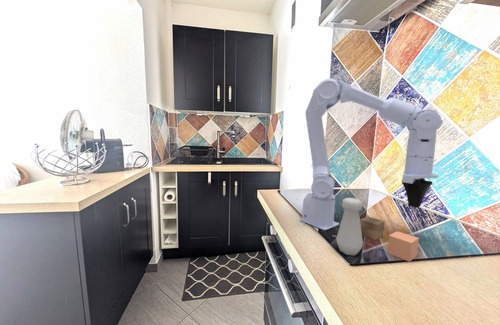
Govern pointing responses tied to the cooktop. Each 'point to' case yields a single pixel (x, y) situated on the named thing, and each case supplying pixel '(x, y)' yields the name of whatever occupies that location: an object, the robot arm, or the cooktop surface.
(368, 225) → the walnut block
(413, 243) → the terracotta block
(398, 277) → the cooktop surface
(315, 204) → the robot arm
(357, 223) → the salt shaker
